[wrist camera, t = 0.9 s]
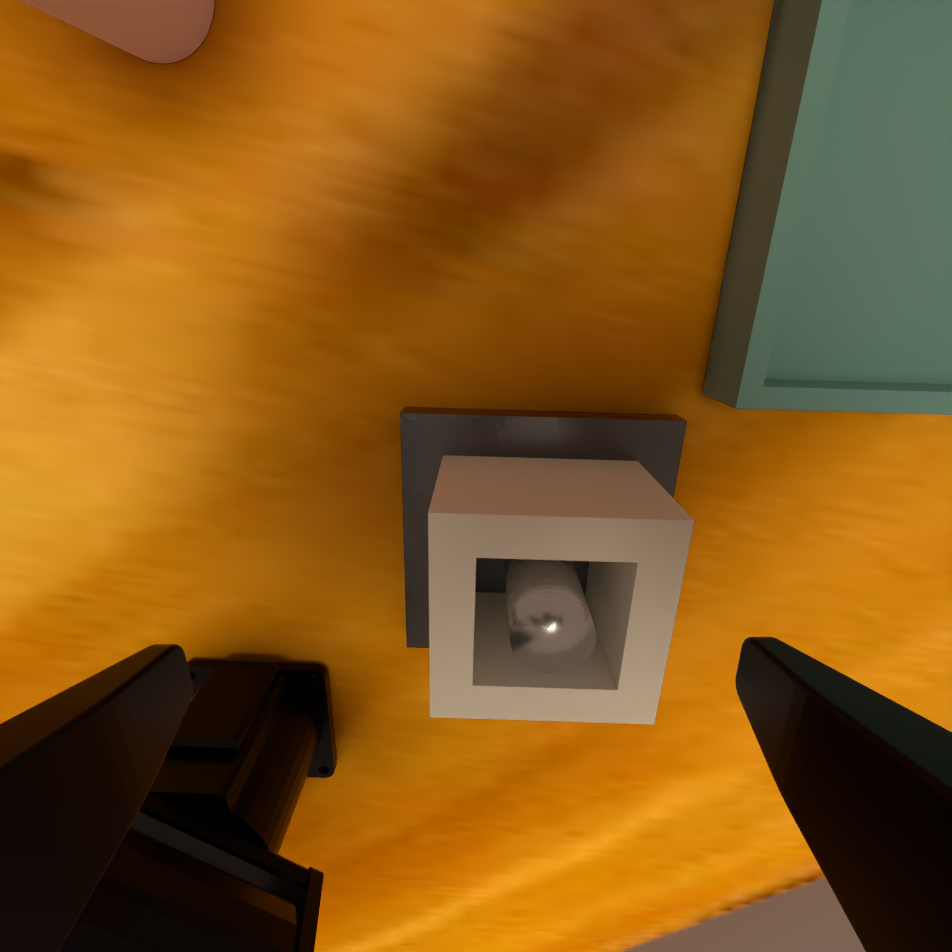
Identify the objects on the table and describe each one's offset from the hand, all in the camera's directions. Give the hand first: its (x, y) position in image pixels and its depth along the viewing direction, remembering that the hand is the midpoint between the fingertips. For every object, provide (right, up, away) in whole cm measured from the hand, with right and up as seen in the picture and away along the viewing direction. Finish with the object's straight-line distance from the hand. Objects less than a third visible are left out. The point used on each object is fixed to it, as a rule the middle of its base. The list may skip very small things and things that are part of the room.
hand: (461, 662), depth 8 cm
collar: (+2, 0, +11) cm, 11 cm away
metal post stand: (+2, +1, +12) cm, 12 cm away
